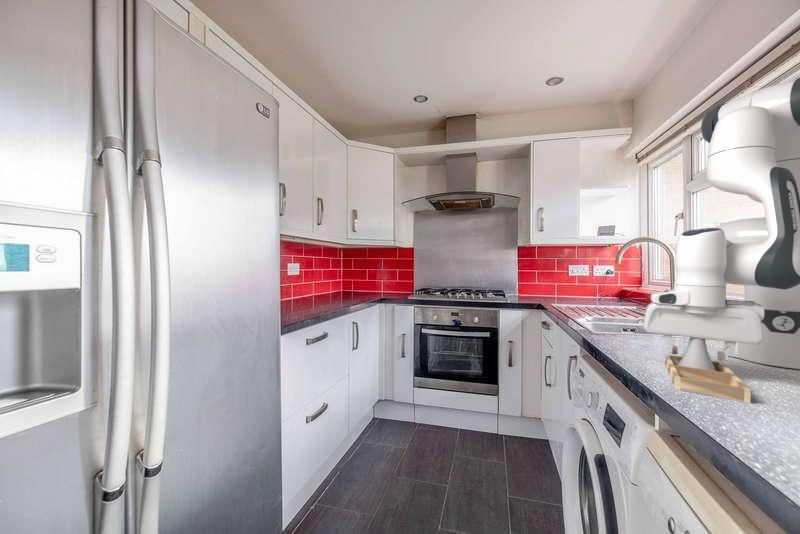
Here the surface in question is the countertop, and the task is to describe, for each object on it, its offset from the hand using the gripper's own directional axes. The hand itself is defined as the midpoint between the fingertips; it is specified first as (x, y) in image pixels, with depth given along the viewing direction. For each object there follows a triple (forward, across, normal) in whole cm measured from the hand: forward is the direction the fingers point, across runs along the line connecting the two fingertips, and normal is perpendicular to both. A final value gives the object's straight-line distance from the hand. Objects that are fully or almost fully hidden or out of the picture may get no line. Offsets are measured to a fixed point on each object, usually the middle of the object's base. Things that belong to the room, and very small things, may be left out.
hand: (696, 356), depth 74 cm
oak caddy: (+4, 0, +5) cm, 6 cm away
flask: (+4, 0, 0) cm, 4 cm away
